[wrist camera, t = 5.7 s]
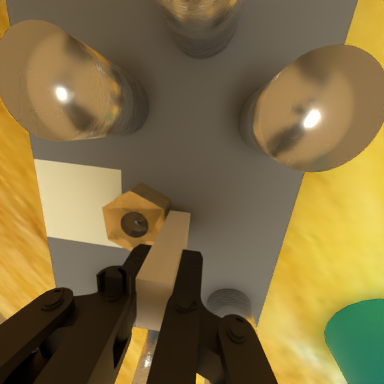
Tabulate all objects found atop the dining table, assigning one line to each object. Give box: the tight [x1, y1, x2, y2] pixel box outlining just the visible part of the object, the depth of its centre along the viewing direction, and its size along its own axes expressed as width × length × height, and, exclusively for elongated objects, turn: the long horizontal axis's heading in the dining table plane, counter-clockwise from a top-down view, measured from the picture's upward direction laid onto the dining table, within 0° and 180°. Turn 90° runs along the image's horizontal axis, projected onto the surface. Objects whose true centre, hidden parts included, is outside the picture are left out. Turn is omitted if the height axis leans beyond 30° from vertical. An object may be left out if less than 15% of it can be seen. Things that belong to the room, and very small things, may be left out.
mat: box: [6, 0, 358, 329], centre depth 15 cm, size 28×20×1 cm
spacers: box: [0, 0, 384, 384], centre depth 12 cm, size 28×14×6 cm, turn 174°
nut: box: [102, 183, 171, 251], centre depth 14 cm, size 5×4×2 cm
